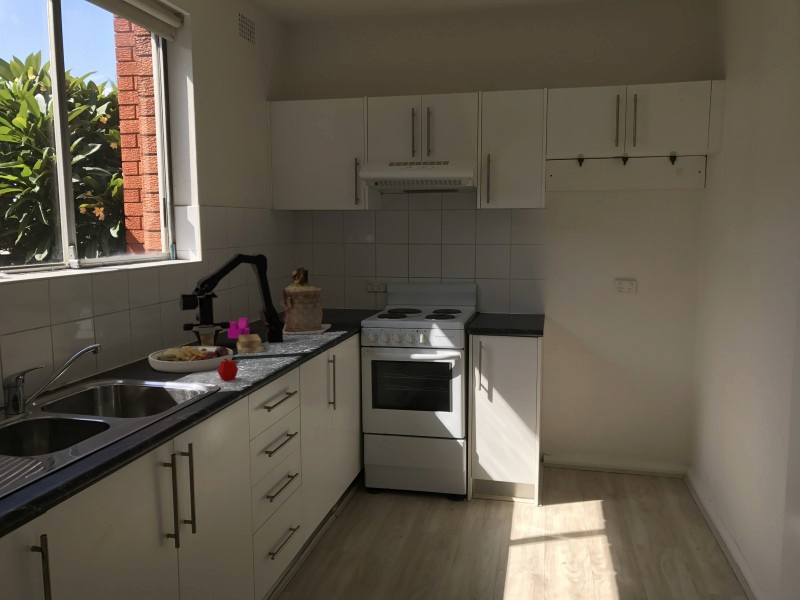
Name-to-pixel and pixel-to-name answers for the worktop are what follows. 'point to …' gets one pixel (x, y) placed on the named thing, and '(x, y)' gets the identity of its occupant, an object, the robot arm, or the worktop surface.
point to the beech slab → (249, 349)
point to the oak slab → (249, 341)
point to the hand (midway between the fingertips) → (207, 345)
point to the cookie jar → (302, 306)
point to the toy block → (238, 328)
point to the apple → (227, 370)
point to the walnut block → (207, 339)
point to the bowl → (189, 358)
